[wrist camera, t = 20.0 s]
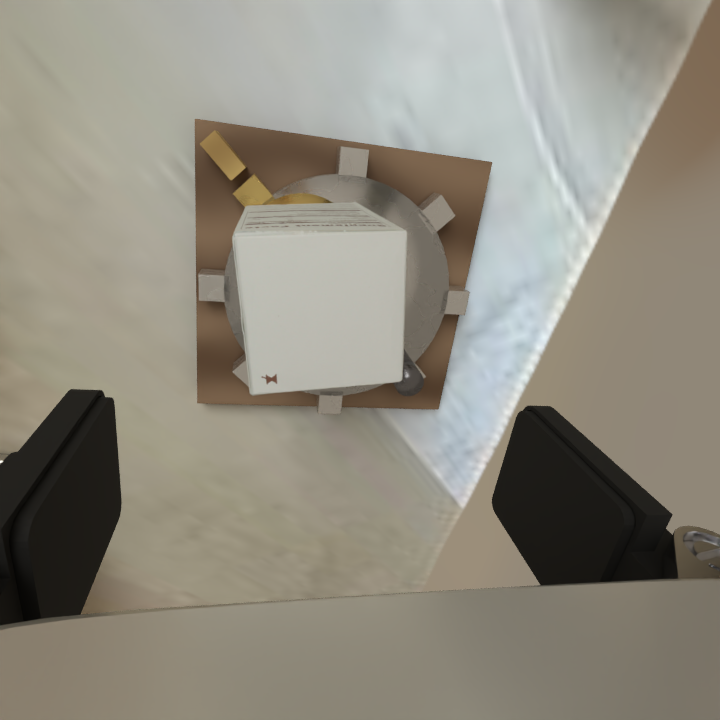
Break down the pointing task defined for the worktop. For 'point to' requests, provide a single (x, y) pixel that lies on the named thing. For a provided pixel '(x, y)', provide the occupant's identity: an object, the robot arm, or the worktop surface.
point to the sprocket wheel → (423, 274)
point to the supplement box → (320, 296)
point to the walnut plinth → (287, 165)
